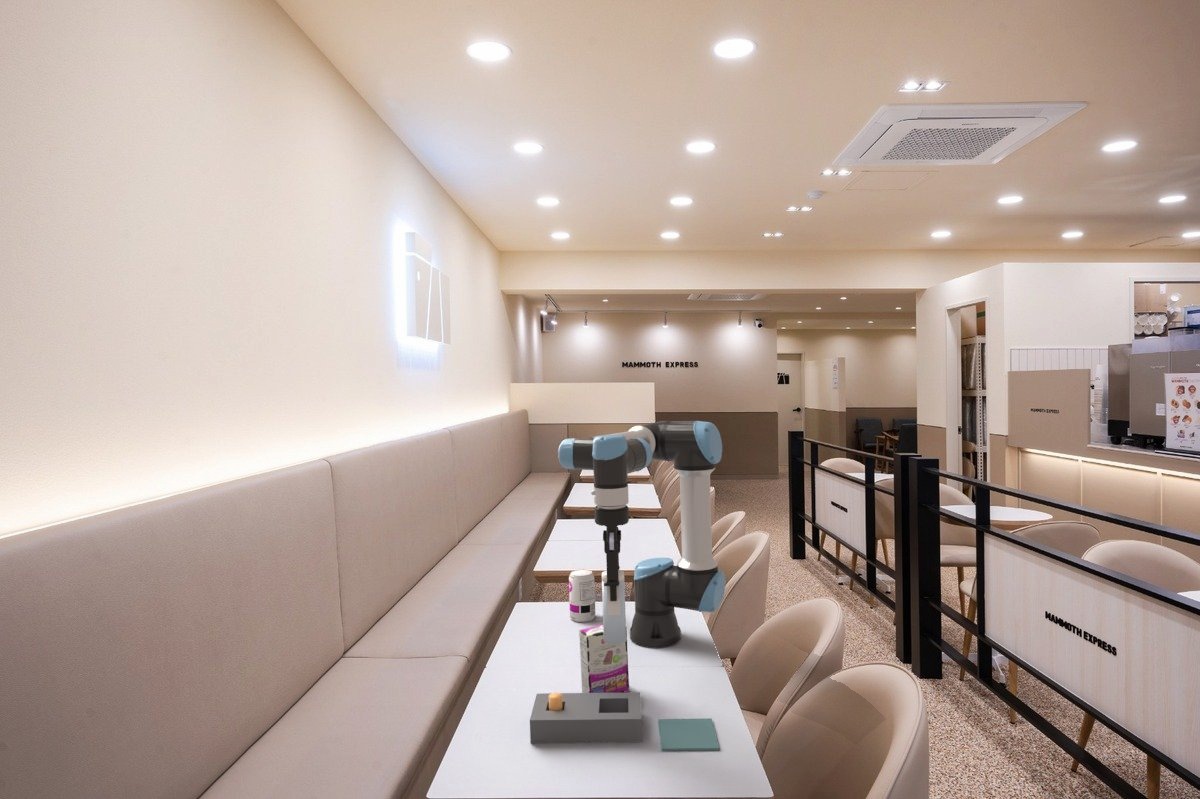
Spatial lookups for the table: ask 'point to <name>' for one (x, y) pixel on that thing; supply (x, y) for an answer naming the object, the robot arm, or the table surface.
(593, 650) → the candy bar box
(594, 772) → the table surface
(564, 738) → the housing
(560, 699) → the plunger
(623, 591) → the cylinder
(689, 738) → the mat
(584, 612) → the supplement can
